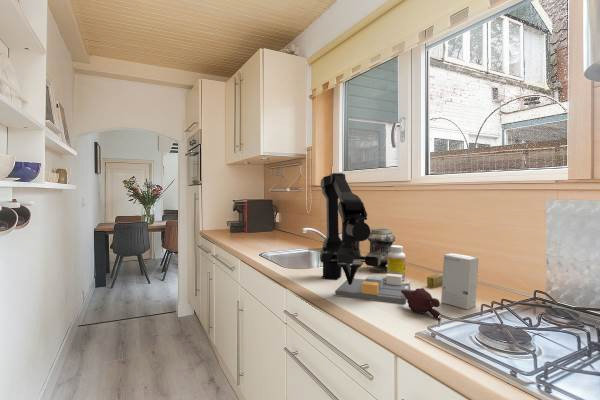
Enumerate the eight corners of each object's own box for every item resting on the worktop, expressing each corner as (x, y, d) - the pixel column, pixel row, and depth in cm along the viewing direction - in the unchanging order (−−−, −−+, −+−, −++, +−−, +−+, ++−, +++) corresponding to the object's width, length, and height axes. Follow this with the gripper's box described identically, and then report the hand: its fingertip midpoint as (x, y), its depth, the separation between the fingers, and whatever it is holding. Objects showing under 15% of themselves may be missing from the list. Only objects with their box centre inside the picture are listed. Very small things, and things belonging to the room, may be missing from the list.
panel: (335, 295, 111) (335, 287, 111) (348, 281, 128) (348, 274, 127) (405, 303, 103) (405, 295, 102) (410, 288, 119) (410, 280, 119)
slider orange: (361, 293, 108) (361, 283, 108) (363, 290, 111) (363, 281, 111) (377, 295, 106) (377, 285, 106) (379, 292, 109) (379, 282, 109)
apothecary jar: (398, 269, 149) (399, 228, 148) (390, 275, 138) (390, 231, 138) (372, 266, 155) (372, 226, 155) (362, 271, 145) (362, 229, 144)
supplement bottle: (406, 282, 128) (406, 248, 127) (387, 281, 129) (388, 247, 129) (404, 277, 134) (404, 245, 134) (387, 276, 136) (387, 244, 135)
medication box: (444, 282, 129) (444, 271, 129) (451, 283, 127) (451, 272, 127) (426, 287, 121) (426, 276, 121) (433, 289, 119) (433, 277, 119)
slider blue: (365, 287, 114) (365, 278, 114) (367, 284, 118) (367, 276, 118) (380, 289, 112) (380, 280, 112) (382, 286, 116) (382, 277, 116)
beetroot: (390, 284, 101) (427, 304, 87) (409, 276, 103) (448, 294, 90) (393, 305, 102) (430, 328, 89) (412, 296, 105) (451, 317, 91)
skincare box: (440, 302, 104) (441, 254, 103) (450, 299, 108) (451, 252, 107) (468, 310, 97) (469, 258, 97) (478, 306, 101) (479, 256, 101)
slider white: (386, 284, 119) (386, 275, 119) (387, 281, 122) (387, 273, 122) (401, 285, 117) (401, 277, 117) (402, 283, 120) (402, 274, 120)
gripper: (315, 238, 107) (314, 287, 107) (375, 241, 100) (374, 294, 100) (326, 234, 117) (325, 279, 117) (381, 237, 110) (380, 285, 110)
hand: (350, 284), depth 111 cm, fingers closed
